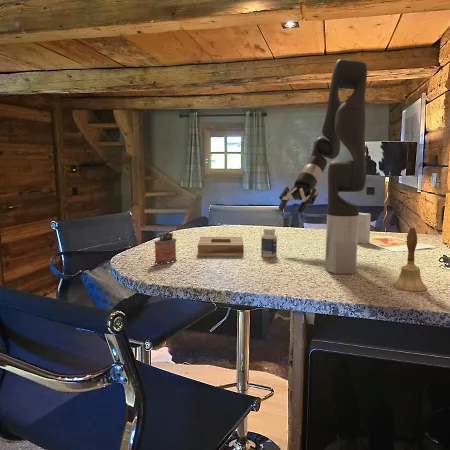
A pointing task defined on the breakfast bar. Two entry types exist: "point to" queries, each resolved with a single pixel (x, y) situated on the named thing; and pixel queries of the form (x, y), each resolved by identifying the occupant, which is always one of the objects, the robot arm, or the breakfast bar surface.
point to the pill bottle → (269, 243)
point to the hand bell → (410, 268)
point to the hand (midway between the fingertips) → (289, 210)
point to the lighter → (165, 248)
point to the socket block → (220, 246)
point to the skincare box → (364, 228)
